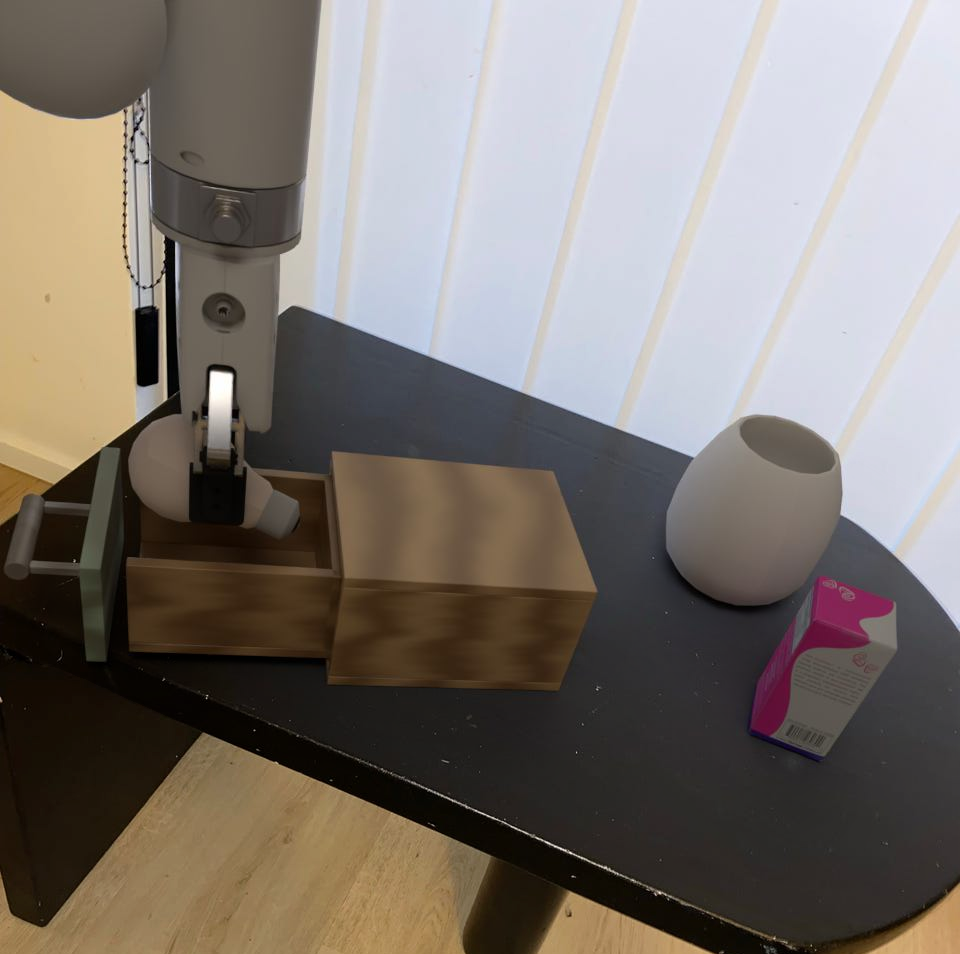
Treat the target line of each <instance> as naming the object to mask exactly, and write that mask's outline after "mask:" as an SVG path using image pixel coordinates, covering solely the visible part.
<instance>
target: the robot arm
mask: <svg viewBox="0 0 960 954" xmlns="http://www.w3.org/2000/svg"><path fill="white" fill-rule="evenodd" d="M322 1H323V0H0V91H1V93H4V94H5V95H7V96H8V97H10V98H12V99H13V100H15V101H17V102H19V103H21V104H23V105H25V106H27V107H29V108H31V109H33V110H34V111H37V112H40V113H44V114H46V115H49V116H53V117H56V118H60V119H64V120H65V119H66V120H72V121H73V120H74V121H89V120H100V119H104V118H107V117H110V116H114V115H116V114H119V113H121V112H122V111H124V110H126V109H128V108H129V107H130V106H132V105H134V104H135V103H136V102H137V101H138V100H139V99H140V98H141V97H143V95H144V94H145V93H146V92H147V91H148V140H149V141H148V142H149V143H148V144H149V198H150V199H149V201H150V203H149V204H150V220H151V223H152V225H153V226H154V227H155V229H156V230H158V231H159V232H160V233H161V234H162V235H163V236H165V237H167V238H168V239H170V240H172V241H173V242H174V243H175V244H174V245H175V246H174V247H175V249H174V250H175V251H174V252H175V254H174V255H175V258H174V259H175V261H174V262H175V263H174V264H175V270H174V272H175V323H176V324H175V326H176V327H175V328H176V349H177V352H176V353H177V368H178V370H177V371H178V382H179V383H178V385H179V394H180V395H179V397H180V398H179V399H180V408H181V414H182V419H183V420H184V421H185V422H186V423H187V424H188V425H189V426H191V427H193V423H194V461H193V462H190V465H189V520H190V521H191V522H193V523H199V524H215V525H230V526H240V525H242V524H243V523H244V513H245V497H246V480H247V467H243V461H244V460H245V459H244V458H245V453H246V436H247V435H246V434H247V429H248V431H249V432H259V434H265V433H267V432H268V431H269V430H270V429H271V428H272V417H273V416H272V413H273V399H274V398H273V396H274V383H275V380H274V379H275V368H276V367H275V366H276V353H277V339H278V338H277V337H278V324H279V323H278V322H279V311H280V310H279V307H280V288H281V287H280V286H281V285H280V284H281V255H282V254H286V253H288V252H290V251H292V250H293V249H295V248H296V247H297V246H298V245H299V244H300V243H301V239H302V232H303V231H302V229H303V220H304V209H305V196H306V185H307V184H306V183H307V172H308V164H309V163H308V162H309V150H310V140H311V139H310V138H311V130H312V129H311V128H312V116H313V104H314V93H315V80H316V72H317V71H316V70H317V60H318V59H317V58H318V47H319V36H320V24H321V16H322V15H321V14H322V3H323V2H322ZM204 429H206V430H208V439H207V446H204ZM231 443H232V445H233V446H234V447H235V450H234V448H231Z"/></svg>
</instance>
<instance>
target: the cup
mask: <svg viewBox="0 0 960 954" xmlns="http://www.w3.org/2000/svg"><path fill="white" fill-rule="evenodd" d="M841 464H842V463H841V460H840V455H839V453H838V452H837V450H836V449H835V447H833V446H832V444H831V443H830V442H829V441H828V440H827V439H825V438H824V437H822V436H821V435H820V434H819V433H817V432H816V431H815V430H813V429H811V428H809V427H808V426H805V425H803V424H801V423H799V422H797V421H794V420H791V419H788V418H784V417H780V416H777V415H771V414H758V413H754V414H749V415H745V416H742V417H740V418H738V419H737V420H736V421H734V422H732V424H730V425H729V426H727V427H726V428H724V429H723V430H721V431H719V433H718V434H716V436H715V437H713V439H712V440H711V441H710V442H709V443H708V444H706V446H705V447H703V448H702V450H700V452H698V454H696V456H695V457H694V458H693V459H691V461H690V463H689V464H688V466H687V468H686V470H685V472H684V473H683V475H682V477H681V479H680V480H679V482H678V484H677V485H676V488H675V489H674V493H673V495H672V498H671V501H670V503H669V505H668V508H667V510H666V519H665V520H666V521H665V549H666V551H667V554H668V555H669V557H670V559H671V560H672V562H673V564H674V566H675V568H676V569H677V571H678V572H679V574H680V575H681V576H682V577H683V578H684V579H685V580H686V581H687V582H688V583H689V584H690V585H691V586H692V587H693V588H695V590H696V591H697V590H698V591H699V592H701V593H702V594H705V595H706V596H708V597H710V598H712V599H713V600H716V601H720V602H723V603H726V604H731V605H733V606H764V605H765V606H766V605H771V604H772V603H776V602H779V601H780V600H783V599H786V598H787V597H789V596H791V595H792V594H793V593H794V592H796V591H797V590H799V589H800V588H801V587H803V586H804V585H805V584H806V582H807V580H809V577H810V576H811V574H812V572H813V571H814V569H815V567H816V566H817V564H818V563H819V561H820V560H821V558H822V556H823V554H824V553H825V552H826V550H827V548H828V547H829V545H830V542H831V541H832V538H833V535H834V533H835V531H836V528H837V526H838V524H839V522H840V519H841V513H842V512H841V511H842V504H843V495H844V494H843V492H844V490H843V477H842V465H841Z"/></svg>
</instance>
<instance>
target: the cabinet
mask: <svg viewBox="0 0 960 954" xmlns="http://www.w3.org/2000/svg"><path fill="white" fill-rule="evenodd" d="M329 463H330V464H329V470H328V475H332V479H333V489H334V499H335V510H336V520H337V530H338V540H339V551H340V561H341V571H342V584H341V590H340V597H339V603H338V609H337V615H336V622H335V628H334V634H333V641H332V647H331V653H330V658H324V659H325V672H326V684H327V685H332V686H333V685H334V686H364V687H365V686H368V687H369V686H370V687H399V688H401V687H402V688H406V687H407V688H436V689H437V688H439V689H440V688H441V689H474V690H475V689H476V690H477V689H479V690H509V691H510V690H513V691H514V690H515V691H549V692H551V691H553V692H558V691H560V689H561V686H562V683H563V681H564V678H565V676H566V673H567V671H568V668H569V666H570V663H571V662H572V658H573V655H574V653H575V650H576V648H577V646H578V643H579V640H580V638H581V636H582V634H583V633H582V632H583V630H584V627H585V625H586V622H587V621H588V618H589V615H590V613H591V610H592V607H593V605H594V602H595V600H596V598H597V595H598V589H597V586H596V584H595V581H594V578H593V575H592V573H591V569H590V567H589V564H588V562H587V559H586V556H585V553H584V550H583V547H582V545H581V542H580V540H579V537H578V534H577V532H576V529H575V526H574V523H573V521H572V517H571V515H570V513H569V510H568V507H567V504H566V502H565V499H564V496H563V493H562V490H561V488H560V485H559V483H558V480H557V476H556V474H555V471H553V470H543V469H534V468H533V469H531V468H523V467H522V468H521V467H511V466H502V465H501V466H500V465H488V464H480V463H479V464H477V463H465V462H457V461H456V462H455V461H446V460H433V459H424V458H423V459H422V458H411V457H401V456H400V457H399V456H389V455H388V456H387V455H377V454H366V453H357V452H346V451H345V452H344V451H335V450H333V451H331V454H330V462H329Z"/></svg>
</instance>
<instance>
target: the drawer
mask: <svg viewBox="0 0 960 954" xmlns="http://www.w3.org/2000/svg"><path fill="white" fill-rule="evenodd" d="M251 468H252V470H253V471H254V472H255V473H257V474H258V475H260V476H261V477H263V478H264V479H266V480H267V481H269V482H270V484H271V486H272V488H273V490H277V491H279V492H281V493H283V494H285V495H287V496H289V497H290V498H292V499H294V500H296V501H298V503H299V511H300V522H299V523H300V525H299V527H298V528H296V530H295V531H294V532H293V533H291V534H289V535H287V536H285V537H284V538H282V539H280V540H278V539H276V538H274V537H272V536H270V535H268V534H266V533H264V532H262V531H260V530H258V529H256V528H255V527H253V528H249V529H246V528H243V527H240V526H230V525H215V524H199V523H193V522H179V521H175V520H172V519H168V518H165V517H162V516H160V515H159V514H157V513H156V512H155V511H153V510H152V509H150V508H149V507H147V506H146V505H145V504H144V503H143V502H142V501H141V499H140V498H139V502H140V503H139V504H140V505H139V506H140V507H139V508H140V540H141V541H140V547H139V556H138V557H130V556H129V557H126V563H125V579H126V580H125V583H126V604H127V605H126V606H127V607H126V608H127V609H126V610H127V628H128V629H127V633H128V636H127V637H128V652H137V653H160V654H161V653H163V654H188V655H189V654H190V655H191V654H192V655H193V654H194V655H221V656H248V657H249V656H250V657H278V658H279V657H281V658H308V659H312V658H313V659H325V658H330V653H331V647H332V641H333V634H334V628H335V622H336V615H337V609H338V603H339V597H340V590H341V584H342V571H341V561H340V551H339V540H338V530H337V520H336V510H335V499H334V489H333V479H332V475H329V474H327V473H326V474H324V473H314V472H302V471H292V470H291V471H289V470H279V469H267V468H254V467H251ZM122 477H123V475H122V453H121V448H119V447H107V446H102V447H100V453H99V459H98V464H97V468H96V474H95V480H94V486H93V490H92V494H91V495H92V496H91V501H90V504H88V503H87V504H86V503H74V502H62V501H61V502H59V501H45V499H44V498H43V496H41V495H39V494H37V493H28V494H25V495H24V496H23V497H22V500H21V504H20V507H19V512H18V514H17V518H16V522H15V525H14V529H13V533H12V537H11V539H10V545H9V548H8V551H7V556H6V559H5V562H4V567H3V572H4V574H5V575H6V576H7V577H8V578H10V579H12V580H15V581H21V580H25V579H27V578H28V576H29V575H30V574H32V575H33V574H34V575H48V576H49V575H52V576H54V575H55V576H68V577H69V576H70V577H79V587H80V599H81V613H82V625H83V636H84V637H83V639H84V647H85V648H84V649H85V660H86V662H100V663H105V662H107V660H108V653H109V645H110V640H111V639H110V638H111V633H112V625H113V617H114V612H115V611H114V610H115V604H116V597H117V589H118V583H119V575H120V568H121V563H122V554H123V548H124V542H125V531H124V529H125V528H124V505H123V481H122V480H123V479H122ZM44 514H49V515H64V516H75V517H76V516H78V517H88V518H87V523H86V527H85V533H84V538H83V543H82V549H81V554H80V560H79V562H60V561H44V560H43V561H42V560H33V559H34V555H35V550H36V546H37V542H38V537H39V533H40V530H41V525H42V521H43V518H44Z"/></svg>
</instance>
